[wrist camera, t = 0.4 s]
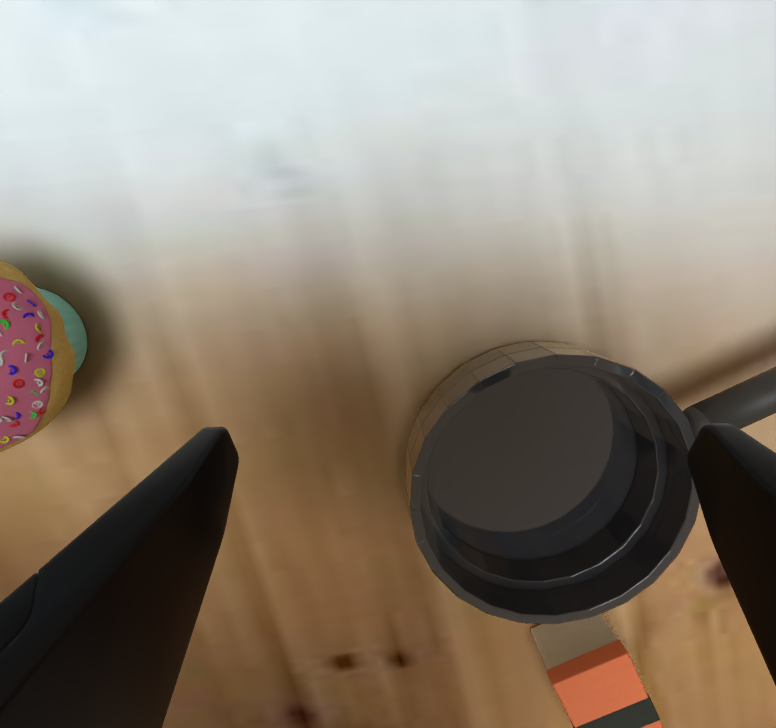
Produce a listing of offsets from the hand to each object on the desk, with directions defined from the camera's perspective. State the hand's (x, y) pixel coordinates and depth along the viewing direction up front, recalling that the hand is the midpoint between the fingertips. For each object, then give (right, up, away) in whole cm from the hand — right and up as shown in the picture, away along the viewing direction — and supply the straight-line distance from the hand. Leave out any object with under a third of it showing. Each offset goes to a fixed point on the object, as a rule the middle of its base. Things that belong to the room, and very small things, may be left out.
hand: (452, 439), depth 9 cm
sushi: (+10, -16, +18) cm, 26 cm away
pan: (+6, -4, +15) cm, 17 cm away
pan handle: (+16, +1, +12) cm, 20 cm away
